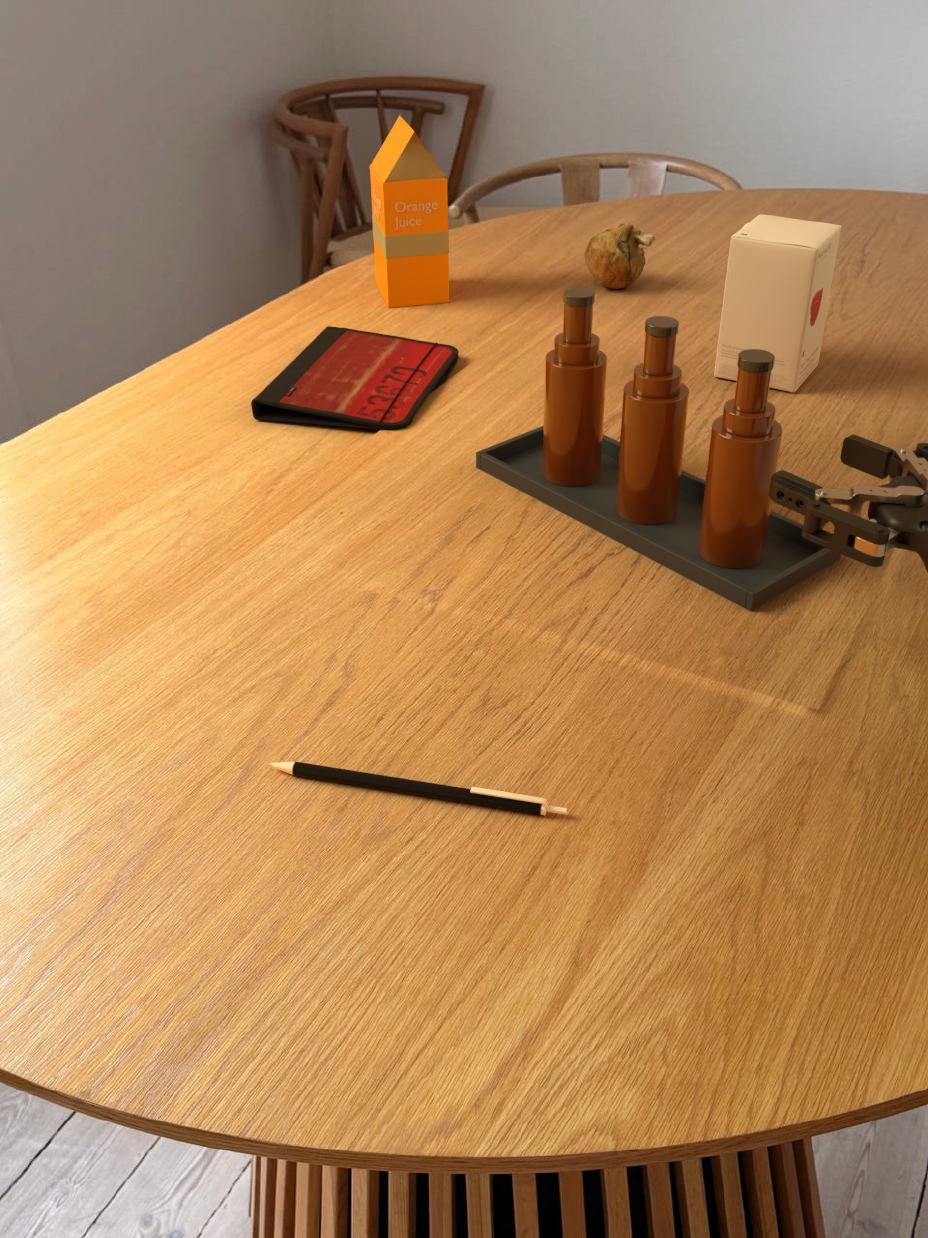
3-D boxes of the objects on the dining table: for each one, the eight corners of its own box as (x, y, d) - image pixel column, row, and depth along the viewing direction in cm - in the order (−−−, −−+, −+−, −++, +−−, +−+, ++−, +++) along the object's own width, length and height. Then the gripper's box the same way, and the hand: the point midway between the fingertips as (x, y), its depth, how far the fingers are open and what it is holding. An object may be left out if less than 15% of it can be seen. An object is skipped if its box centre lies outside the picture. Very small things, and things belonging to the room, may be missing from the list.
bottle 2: (685, 503, 104) (705, 316, 94) (664, 530, 100) (682, 338, 91) (629, 490, 106) (642, 305, 97) (605, 516, 102) (617, 326, 93)
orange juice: (387, 307, 146) (379, 132, 134) (374, 284, 153) (365, 115, 141) (451, 302, 147) (448, 127, 136) (435, 278, 154) (431, 111, 143)
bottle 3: (771, 545, 98) (801, 349, 89) (752, 575, 94) (781, 374, 85) (709, 530, 100) (733, 337, 91) (688, 559, 96) (710, 361, 87)
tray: (839, 565, 96) (843, 542, 95) (750, 618, 90) (753, 594, 89) (564, 436, 116) (564, 416, 115) (475, 472, 110) (475, 452, 109)
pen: (565, 822, 73) (566, 808, 72) (267, 774, 77) (265, 760, 76) (568, 811, 74) (568, 798, 73) (272, 765, 77) (270, 751, 77)
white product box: (795, 395, 124) (818, 248, 115) (711, 378, 127) (727, 234, 119) (821, 364, 130) (844, 223, 122) (740, 349, 134) (757, 211, 125)
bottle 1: (609, 467, 110) (621, 287, 100) (586, 492, 106) (595, 307, 96) (557, 455, 112) (563, 277, 102) (532, 479, 108) (536, 296, 98)
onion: (632, 272, 156) (636, 208, 151) (653, 292, 149) (658, 227, 145) (575, 276, 154) (578, 213, 150) (594, 297, 148) (597, 231, 143)
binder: (249, 398, 118) (325, 323, 135) (251, 420, 120) (326, 343, 136) (406, 421, 115) (464, 341, 132) (406, 443, 117) (463, 362, 133)
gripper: (946, 642, 76) (740, 542, 86) (1059, 563, 84) (858, 480, 94) (973, 538, 72) (753, 447, 82) (1090, 465, 79) (876, 389, 90)
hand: (809, 464), depth 88 cm, fingers open, 8 cm apart
